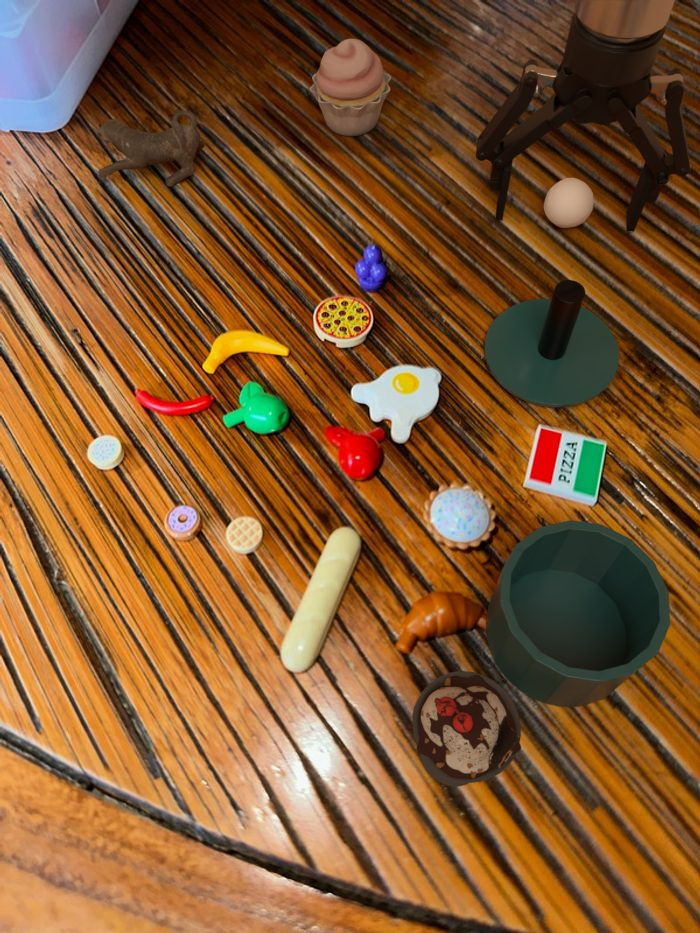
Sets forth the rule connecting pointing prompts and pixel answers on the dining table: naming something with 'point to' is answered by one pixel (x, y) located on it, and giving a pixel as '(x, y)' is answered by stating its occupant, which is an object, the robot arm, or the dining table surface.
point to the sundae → (465, 728)
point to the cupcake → (350, 88)
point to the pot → (576, 613)
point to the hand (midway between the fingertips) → (564, 217)
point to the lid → (552, 349)
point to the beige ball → (569, 203)
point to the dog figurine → (154, 146)
